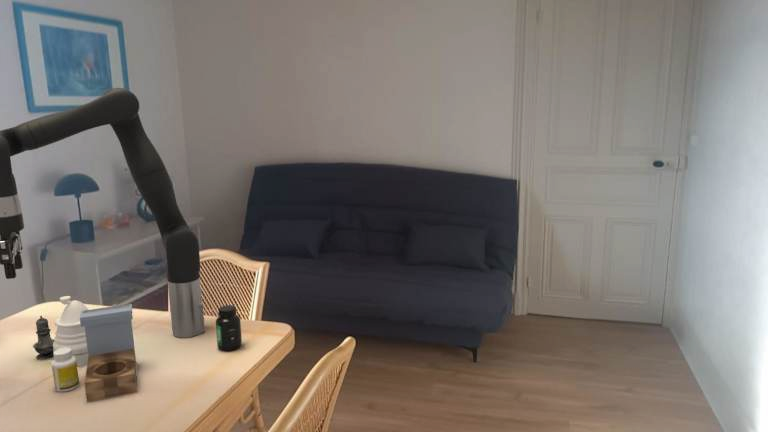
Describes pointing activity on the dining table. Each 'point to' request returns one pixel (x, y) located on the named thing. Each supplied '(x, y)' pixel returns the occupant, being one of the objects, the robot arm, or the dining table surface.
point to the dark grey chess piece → (43, 340)
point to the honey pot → (72, 331)
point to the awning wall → (108, 329)
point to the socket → (110, 375)
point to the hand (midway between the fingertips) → (14, 273)
